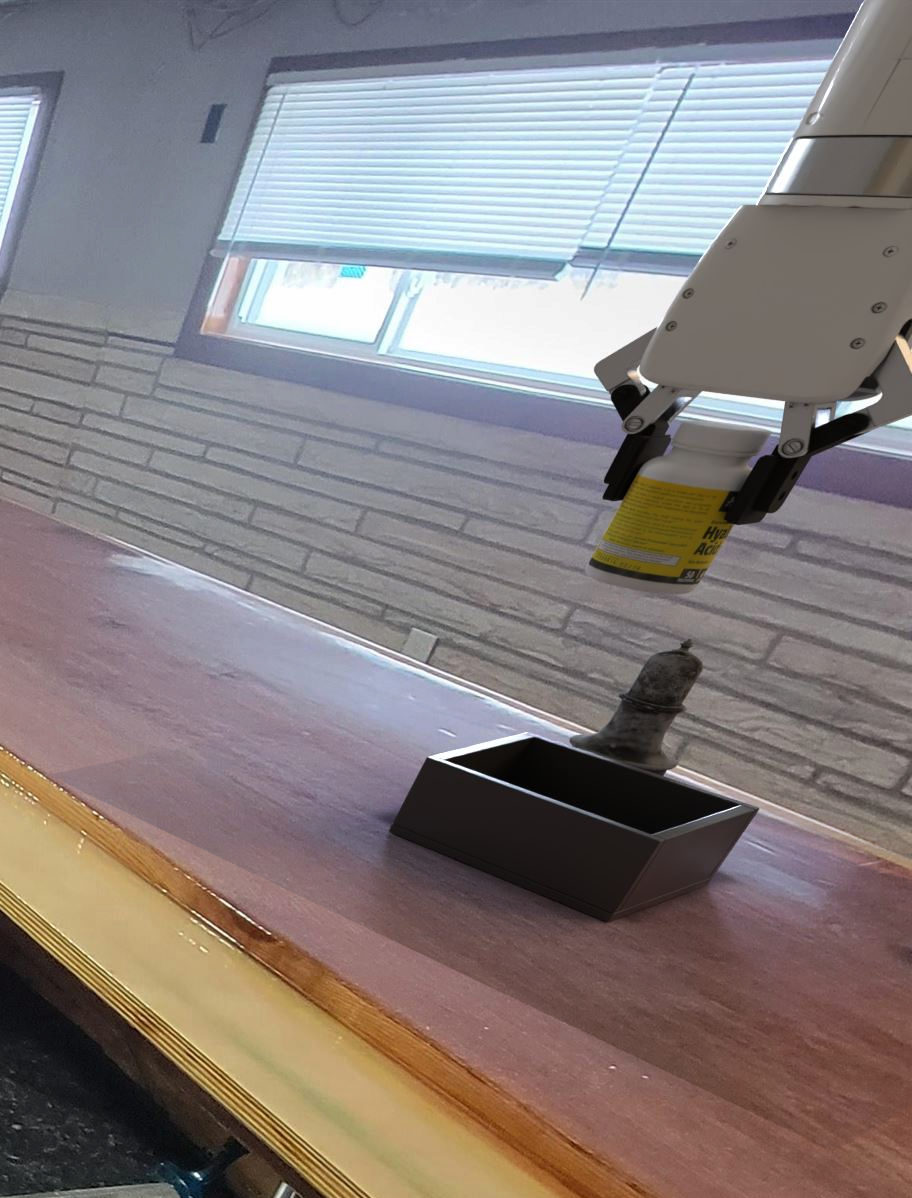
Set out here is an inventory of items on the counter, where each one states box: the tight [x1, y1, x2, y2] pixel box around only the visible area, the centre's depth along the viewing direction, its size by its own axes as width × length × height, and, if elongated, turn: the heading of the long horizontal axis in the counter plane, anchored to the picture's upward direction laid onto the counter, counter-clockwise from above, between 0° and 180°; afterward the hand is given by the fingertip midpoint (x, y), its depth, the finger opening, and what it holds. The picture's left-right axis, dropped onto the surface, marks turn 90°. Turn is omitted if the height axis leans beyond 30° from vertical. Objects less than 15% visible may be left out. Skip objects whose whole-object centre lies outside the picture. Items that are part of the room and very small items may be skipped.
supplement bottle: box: [584, 420, 772, 596], centre depth 76 cm, size 5×5×10 cm
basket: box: [388, 731, 760, 923], centre depth 79 cm, size 12×12×6 cm
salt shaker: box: [568, 638, 704, 777], centre depth 86 cm, size 6×6×12 cm
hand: (680, 507), depth 76 cm, fingers closed on supplement bottle, 5 cm apart
